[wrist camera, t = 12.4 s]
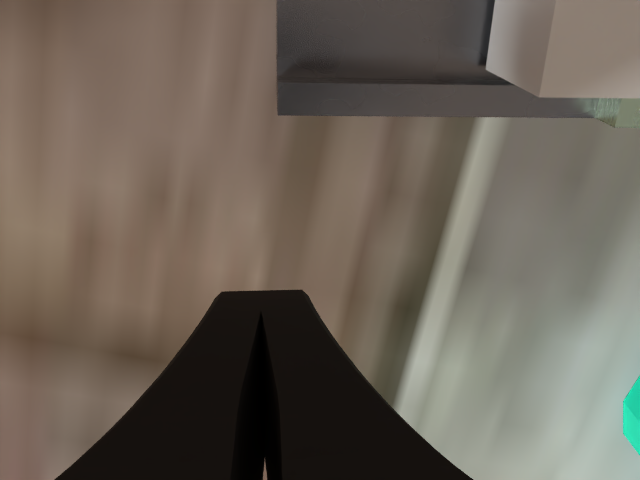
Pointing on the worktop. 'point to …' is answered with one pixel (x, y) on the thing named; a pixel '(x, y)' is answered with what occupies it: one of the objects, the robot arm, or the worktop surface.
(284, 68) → the slider track
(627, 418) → the candle
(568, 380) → the worktop surface
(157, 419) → the robot arm
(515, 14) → the slider
